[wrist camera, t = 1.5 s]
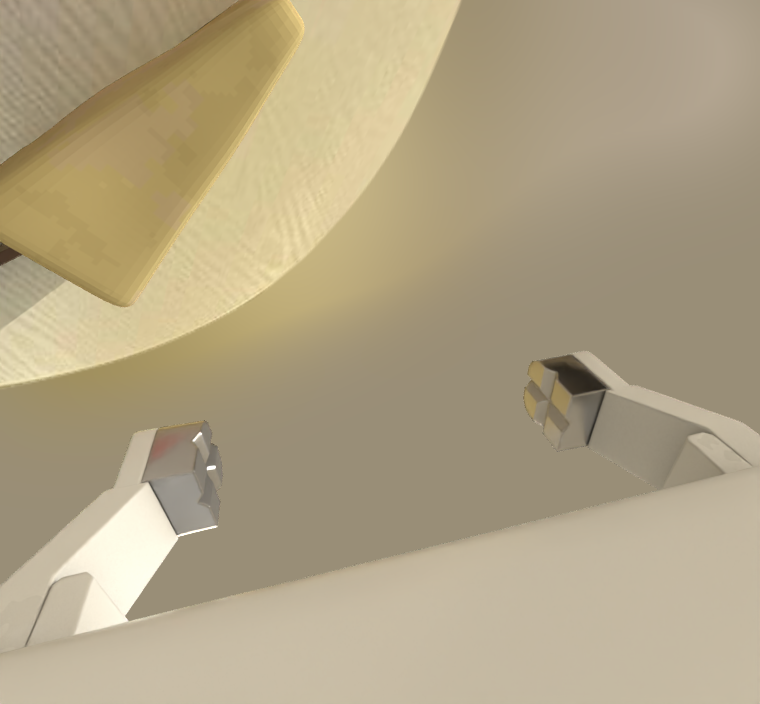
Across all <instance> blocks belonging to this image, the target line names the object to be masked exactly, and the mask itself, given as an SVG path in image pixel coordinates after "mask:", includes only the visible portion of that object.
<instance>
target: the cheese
mask: <svg viewBox="0 0 760 704" xmlns="http://www.w3.org/2000/svg"><path fill="white" fill-rule="evenodd" d="M303 35H304V23H303V21H302V19H301V17H300V16H299V14H298V13H297V11H296V10H295V8H294V6H293V5H292V3H291V2H290V0H240V1H238V2H236V3H235V4H234V5H232V6H231V7H229V8H228V9H227V10H225V11H224V12H223V13H221V14H220V15H219V16H217V17H216V18H215V19H213V20H212V21H211V22H209V23H208V24H206V25H205V26H204V27H202V28H201V29H200V30H198V31H197V32H195V33H194V34H193V35H191V36H190V37H189V38H187V39H186V40H184V41H183V42H182V43H180V44H179V45H177V46H176V47H174V48H172V49H170V50H169V51H167V52H165V53H163V54H162V55H160V56H158V57H156V58H155V59H153V60H151V61H149V62H148V63H146V64H144V65H142V66H141V67H139V68H137V69H135V70H134V71H132V72H130V73H129V74H127V75H125V76H123V77H122V78H120V79H118V80H117V81H115V82H113V83H112V84H110V85H109V86H107V87H106V88H104V89H103V90H101V91H100V92H98V93H97V94H95V95H94V96H92V97H91V98H89V99H88V100H87V101H85V102H84V103H83V104H81V105H80V106H79V107H77V108H76V109H75V110H73V111H72V112H71V113H70V114H68V115H67V116H66V117H65V118H63V119H62V120H61V121H60V122H58V123H57V124H56V125H55V126H53V127H52V128H51V129H49V130H48V131H47V132H46V133H44V134H43V135H42V136H40V137H39V138H38V139H36V140H35V141H34V142H32V143H31V144H29V145H27V146H26V147H24V148H22V149H21V150H19V151H18V152H17V153H16V154H14V155H13V156H12V157H10V158H9V159H8V160H6V161H5V162H4V163H2V164H1V165H0V242H2V243H3V244H5V245H7V246H8V247H10V248H12V249H14V250H15V251H17V252H19V253H21V254H22V255H24V256H26V257H28V258H29V259H31V260H33V261H35V262H36V263H38V264H40V265H42V266H43V267H45V268H47V269H49V270H51V271H52V272H54V273H56V274H58V275H59V276H61V277H63V278H65V279H66V280H68V281H70V282H72V283H73V284H75V285H77V286H79V287H80V288H82V289H84V290H86V291H88V292H89V293H91V294H93V295H95V296H97V297H99V298H100V299H102V300H104V301H106V302H109V303H111V304H113V305H116V306H120V307H128V306H130V305H132V304H134V303H135V301H136V300H137V299H138V297H139V296H140V294H141V293H142V291H143V290H144V288H145V287H146V285H147V283H148V282H149V280H150V279H151V277H152V276H153V274H154V273H155V271H156V269H157V268H158V266H159V265H160V263H161V262H162V260H163V258H164V257H165V255H166V254H167V252H168V251H169V249H170V248H171V246H172V245H173V243H174V242H175V240H176V238H177V237H178V235H179V234H180V232H181V231H182V229H183V228H184V226H185V225H186V223H187V222H188V220H189V219H190V217H191V216H192V214H193V213H194V211H195V210H196V208H197V207H198V205H199V204H200V203H201V201H202V200H203V198H204V197H205V195H206V194H207V192H208V191H209V189H210V188H211V186H212V185H213V184H214V182H215V181H216V179H217V178H218V176H219V175H220V173H221V172H222V170H223V169H224V167H225V166H226V164H227V163H228V161H229V160H230V158H231V157H232V155H233V154H234V152H235V151H236V149H237V148H238V146H239V144H240V143H241V141H242V140H243V138H244V136H245V135H246V133H247V131H248V130H249V128H250V126H251V125H252V123H253V121H254V120H255V118H256V116H257V115H258V113H259V111H260V110H261V108H262V106H263V105H264V103H265V101H266V100H267V98H268V96H269V95H270V93H271V91H272V90H273V88H274V86H275V85H276V83H277V81H278V80H279V78H280V76H281V75H282V73H283V71H284V70H285V68H286V66H287V65H288V63H289V61H290V60H291V58H292V57H293V55H294V53H295V51H296V50H297V48H298V46H299V44H300V42H301V40H302V37H303Z"/></svg>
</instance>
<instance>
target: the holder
mask: <svg viewBox="0 0 760 704" xmlns="http://www.w3.org/2000/svg"><path fill="white" fill-rule="evenodd" d="M21 255H22V254H21V253H19V252H17V251H15V250H14V249H12V248H10V247H8V246H7V245H5V244H2V245H0V266H1V265H3V264H5V263H7V262H9V261H11V260H13V259H15V258H17V257H19V256H21Z"/></svg>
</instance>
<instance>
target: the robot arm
mask: <svg viewBox="0 0 760 704" xmlns="http://www.w3.org/2000/svg"><path fill="white" fill-rule="evenodd" d="M528 376H529V377H530V379H531V381H530V382H529V383H528V385H527V386H526V387H525V390H524V396H523V399H524V404H525V408H526V411H527V413H528V415H529V416H530V417H531V419H532V420H533V421H534V422H536V423H538V424H540V425H542V426H543V435H544V436H545V437H546V438H547V440H548V441H549V442H550V443H551V445H552V446H553V447H554V449H555V450H556V451H557V452H558V451H563V450H569V449H574V448H578V447H584V446H588V448H589V449H591V450H593V451H594V452H596V453H598V454H599V455H601V456H603V457H604V458H606V459H608V460H609V461H611V462H613V463H614V464H616V465H618V466H619V467H621V468H623V469H625V470H626V471H628V472H630V473H631V474H633V475H635V476H636V477H638V478H640V479H641V480H643V481H645V482H646V483H648V484H650V485H652V486H653V487H655V488H657V489H658V491H653V492H649V493H645V494H641V495H637V496H633V497H629V498H626V499H621V500H617V501H613V502H609V503H605V504H601V505H597V506H593V507H589V508H585V509H581V510H577V511H573V512H569V513H565V514H560V515H557V516H552V517H548V518H544V519H541V520H537V521H533V522H528V523H524V524H520V525H516V526H512V527H508V528H505V529H500V530H496V531H492V532H488V533H484V534H480V535H476V536H472V537H468V538H464V539H460V540H456V541H452V542H447V543H443V544H440V545H436V546H431V547H427V548H423V549H419V550H415V551H411V552H407V553H403V554H399V555H395V556H391V557H387V558H383V559H379V560H375V561H370V562H366V563H362V564H358V565H354V566H351V567H346V568H342V569H338V570H334V571H330V572H326V573H322V574H318V575H314V576H310V577H306V578H302V579H298V580H294V581H290V582H286V583H282V584H278V585H273V586H269V587H266V588H262V589H258V590H253V591H249V592H246V593H242V594H237V595H233V596H229V597H225V598H221V599H217V600H213V601H209V602H205V603H201V604H197V605H193V606H189V607H185V608H181V609H177V610H172V611H169V612H165V613H160V614H156V615H152V616H149V617H144V618H140V619H137V620H133V621H128V620H127V619H126V617H125V615H126V614H127V612H128V611H129V609H130V608H131V606H132V605H133V603H134V602H135V601H136V599H137V598H138V596H139V595H140V593H141V592H142V590H143V589H144V587H145V586H146V585H147V583H148V582H149V580H150V579H151V577H152V576H153V574H154V573H155V572H156V570H157V569H158V567H159V566H160V564H161V563H162V561H163V560H164V558H165V557H166V556H167V554H168V553H169V551H170V550H171V548H172V547H173V546H174V544H175V543H176V541H177V540H178V536H182V535H185V534H190V533H194V532H198V531H202V530H205V529H210V528H214V527H218V519H219V510H220V499H219V497H218V494H217V491H218V490H219V489H220V487H221V486H222V479H223V471H222V461H221V457H220V453H219V450H218V447H217V446H216V445H214V444H212V443H211V438H212V431H211V429H210V426H209V424H208V422H207V421H205V420H204V421H197V422H192V423H185V424H179V425H172V426H166V427H161V428H156V429H149V430H143V431H137V432H136V433H134V434H133V435H132V437H131V439H130V442H129V445H128V447H127V450H126V453H125V456H124V458H123V461H122V464H121V467H120V469H119V472H118V475H117V478H116V480H115V483H114V486H113V489H110V490H105V491H104V492H103V493H102V494H101V495H100V496H98V497H97V498H96V499H95V500H94V501H93V502H92V503H91V504H90V505H89V506H87V507H86V508H85V509H84V510H83V511H82V512H81V513H80V514H79V515H77V517H75V518H74V519H73V520H72V521H71V522H70V523H69V524H68V525H66V526H65V527H64V528H63V529H62V530H61V531H60V532H59V533H58V534H57V535H55V536H54V537H53V538H52V539H51V540H50V541H49V542H48V543H47V544H45V545H44V546H43V547H42V548H41V549H40V550H39V551H38V552H37V553H36V554H34V555H33V557H31V558H30V559H29V560H28V561H27V562H26V563H25V564H23V565H22V566H21V567H20V568H19V569H18V570H17V571H16V572H15V573H14V574H12V575H11V576H10V577H9V578H8V579H7V580H6V581H5V582H3V583H2V584H1V585H0V704H760V435H759V434H757V433H756V432H755V431H753V430H752V429H751V428H749V427H748V426H747V425H745V424H744V423H742V422H740V421H737V420H734V419H731V418H729V417H725V416H723V415H720V414H717V413H714V412H711V411H708V410H706V409H703V408H700V407H697V406H694V405H691V404H688V403H686V402H683V401H680V400H677V399H674V398H671V397H668V396H665V395H663V394H660V393H657V392H654V391H651V390H648V389H645V388H642V387H640V386H637V385H633V386H630V385H628V384H627V383H626V382H625V381H624V380H622V379H621V378H620V377H619V376H618V375H617V374H615V373H614V372H613V371H612V370H611V369H610V368H608V367H607V366H606V365H605V364H604V363H602V362H601V361H600V360H599V359H598V358H597V357H595V356H594V355H593V354H592V353H590V352H588V351H581V352H576V353H571V354H567V355H563V356H559V357H553V358H548V359H542V360H537V361H532V363H531V364H530V365H529V369H528Z"/></svg>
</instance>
